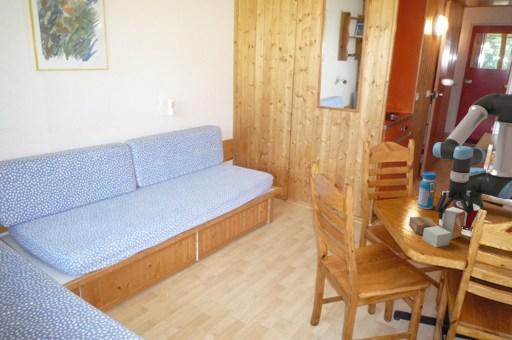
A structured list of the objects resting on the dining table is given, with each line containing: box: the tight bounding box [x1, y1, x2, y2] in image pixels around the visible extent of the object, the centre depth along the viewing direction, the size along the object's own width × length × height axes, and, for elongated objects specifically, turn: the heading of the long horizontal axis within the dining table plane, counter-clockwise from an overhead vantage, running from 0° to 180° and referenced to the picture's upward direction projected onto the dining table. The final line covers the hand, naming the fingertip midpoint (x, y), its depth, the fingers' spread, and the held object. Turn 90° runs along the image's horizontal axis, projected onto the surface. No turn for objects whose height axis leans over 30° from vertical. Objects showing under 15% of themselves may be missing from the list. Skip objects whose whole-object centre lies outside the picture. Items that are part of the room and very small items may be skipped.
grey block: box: [422, 225, 451, 248], centre depth 176 cm, size 8×8×6 cm
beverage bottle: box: [416, 171, 437, 210], centre depth 217 cm, size 8×8×20 cm
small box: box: [440, 206, 465, 241], centre depth 182 cm, size 8×6×13 cm
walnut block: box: [408, 216, 439, 235], centre depth 189 cm, size 10×10×5 cm
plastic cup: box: [456, 201, 480, 229], centre depth 192 cm, size 11×11×12 cm
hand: (451, 224), depth 182 cm, fingers closed on small box, 10 cm apart
